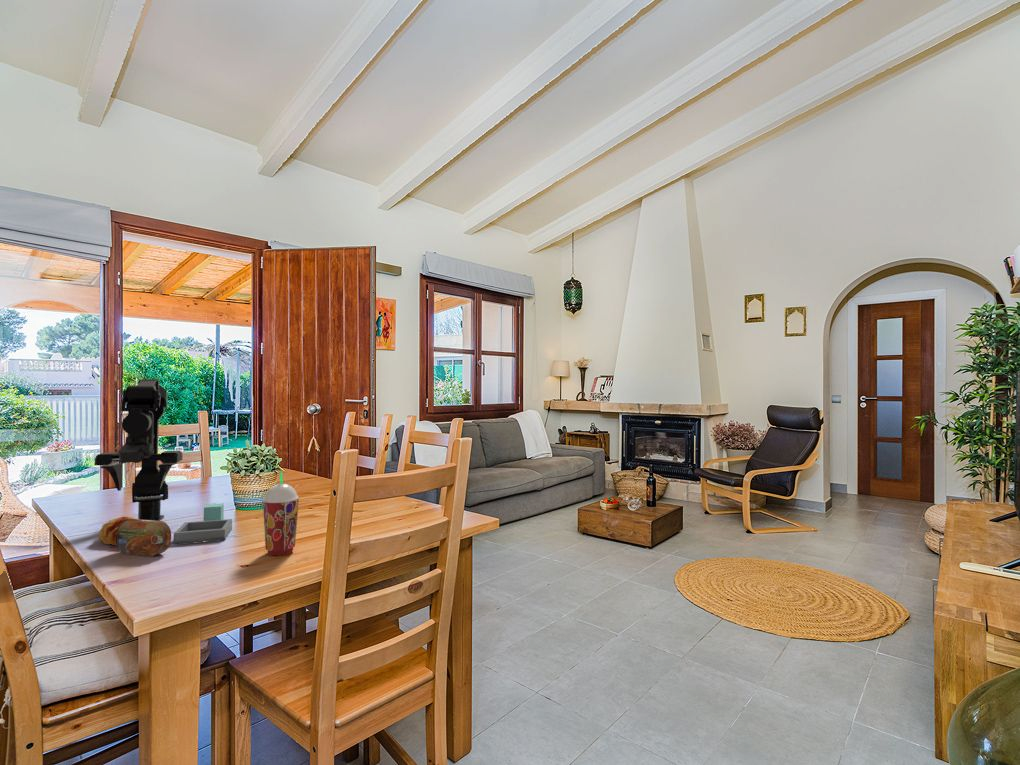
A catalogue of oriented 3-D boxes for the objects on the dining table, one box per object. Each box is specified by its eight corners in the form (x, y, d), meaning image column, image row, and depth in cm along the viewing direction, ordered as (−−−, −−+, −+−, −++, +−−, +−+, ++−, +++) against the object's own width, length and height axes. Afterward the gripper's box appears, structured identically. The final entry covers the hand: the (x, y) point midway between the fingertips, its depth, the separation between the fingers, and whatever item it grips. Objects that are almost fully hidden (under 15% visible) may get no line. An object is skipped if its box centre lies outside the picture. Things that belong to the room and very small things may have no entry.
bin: (184, 532, 148) (185, 522, 148) (232, 529, 152) (232, 519, 152) (173, 544, 136) (173, 533, 136) (224, 540, 140) (224, 529, 141)
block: (206, 524, 158) (206, 504, 158) (223, 522, 159) (223, 503, 159) (203, 527, 153) (203, 507, 154) (220, 526, 155) (220, 506, 155)
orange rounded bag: (113, 553, 129) (114, 519, 130) (125, 549, 132) (126, 516, 133) (162, 558, 126) (163, 523, 126) (173, 554, 129) (174, 520, 129)
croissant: (103, 546, 146) (86, 523, 144) (141, 524, 153) (126, 502, 150) (116, 563, 131) (97, 537, 129) (158, 537, 138) (141, 512, 135)
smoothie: (304, 552, 131) (305, 472, 131) (270, 560, 125) (272, 476, 125) (289, 545, 136) (290, 469, 137) (256, 552, 130) (257, 472, 131)
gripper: (85, 435, 130) (84, 498, 130) (171, 434, 136) (170, 493, 135) (104, 431, 140) (103, 489, 140) (183, 430, 146) (182, 485, 146)
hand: (139, 489), depth 140 cm, fingers open, 9 cm apart
